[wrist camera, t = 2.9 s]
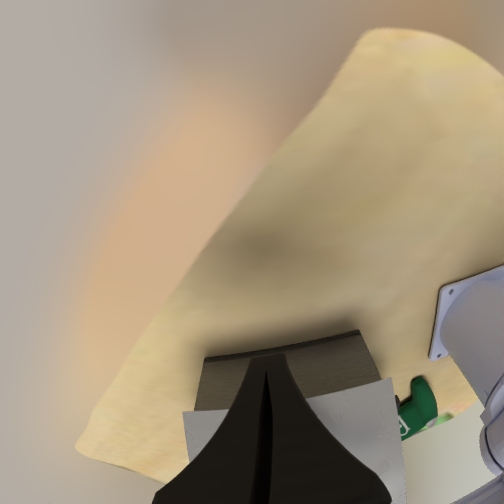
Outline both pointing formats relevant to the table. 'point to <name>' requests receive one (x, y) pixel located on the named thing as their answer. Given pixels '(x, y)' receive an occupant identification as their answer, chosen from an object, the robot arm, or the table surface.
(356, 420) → the lid
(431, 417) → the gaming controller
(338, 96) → the table surface
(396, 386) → the table surface
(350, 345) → the storage bin
